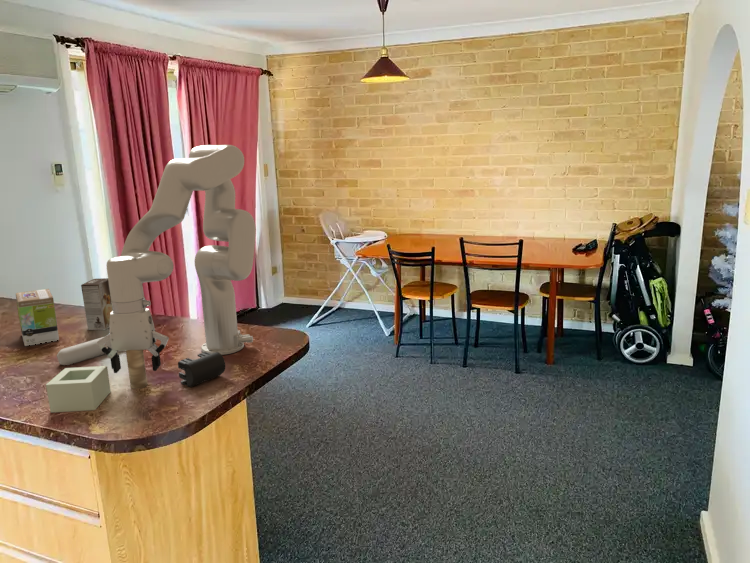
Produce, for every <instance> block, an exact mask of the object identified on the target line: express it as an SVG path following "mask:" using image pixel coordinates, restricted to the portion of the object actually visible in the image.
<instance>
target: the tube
mask: <svg viewBox="0 0 750 563" xmlns="http://www.w3.org/2000/svg"><path fill="white" fill-rule="evenodd" d="M104 337H105V336H102V337H99V338H95V339H91V340H88V341H84V342H81V343H78V344H74V345H72V346H67V347H64V348H60V350H59V351H58V353H57V355H56V358H57V362H58V364H59V365H61V366H65V365H67V366H70V364H71V365H73V363H74V364H77V363H80V362H83V361H87V360H90V359H93V358H97V357H100V356H102V355H106V354H105V353H104V352H102V349H101V348H100V347H99V346H98V344H97V341H99V340H100V339H102V338H104ZM106 345H107V346H108V347H110V348H111V344H110V340H109V341H107V342H106ZM111 349H112V348H111Z"/></svg>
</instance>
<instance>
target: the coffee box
mask: <svg viewBox="0 0 750 563" xmlns="http://www.w3.org/2000/svg"><path fill="white" fill-rule="evenodd" d="M80 287H81V294H82V299H83V300H82V301H83V306H84V312H85V313H84V314H85V320H86V324H87V330H88V331H96V330H97V331H98V330H99V331H100V330H101V331H102V330H103V331H105V330H107V329H108V328H109V325H110V313H111V312H112V311H113V310H112V303H111V296H110V288H109V281H108V277H106V278H93V279H91V280H88V281H86V282H83V283H82V284H81V285H80Z"/></svg>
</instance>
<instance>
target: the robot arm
mask: <svg viewBox="0 0 750 563" xmlns="http://www.w3.org/2000/svg"><path fill="white" fill-rule="evenodd" d="M244 166H245V155H244V153H243V152H242V150H241V149H240V148H239V147H237V146H235V145H233V144H204V145H197V146H194V147H193V148H192V149H191V150H190V151H189V154H188V157H181V158H173V159H171V160H170V161H168V163H167V164H166V165H165V166H164V170H163V172H162V176H161V178H160V181H159V185H158V188H157V190H156V193H155V195H154V199H153V201H152V203H151V204H152V205H151V207H150V209H148V211H147V212H146V213H145V214H144V215H143V216H142V217H141V218H140V219H139V220H138V222H136V223H135V225H134V226H133V227H132V228H131V230H130V231H129V233H128V235H127V237H126V239H125V242H124V244H123V247H122V250H121V254H120V256H114V257H111V258H109V259H108V260H107V262H106V271H107V274H106V275H107V278H108V281H109V288H110V296H111V303H112V310H113V311H112V312H111V313H110V325H109V334H107V335H106V336H105V335H104V336H103V337H104V338H102V337H101V338H102V339H100V340H99V341H97V344H98V346H99V347H100V348H101V349H102V352H104V353H105V354H104V355H106V356H107V358H108V359H110V360H109V361H110V366H111V369H112V370H113V373H114V374H117V373H118V372H119V371H120V370H121V369H122V366H121V358H120V355H119V352H126V351H128V350H143V351H146V350H147V351H148V352H150V353H151V355H152V356H151V358H150V359H151V365H152V371H153V372H156V371H158V369H159V368H160V367H161V365H162V363H161V354H160V353H162V351H163V350H164V349H165V348H166V347H167V344H168V341H169V338H170V337H169V336H167V335H164V334H162V333H160V332H157V331H156V329H155V324H154V321H153V317H152V313H151V311H150V308H148V307H149V306H151V305H152V303H151V302H152V301H151V300H148V299H146V297H145V294H144V287H143V284H144V283H153V282H154V283H155V282H161V281H163V280H167V279H168V278H169V277H170V276H171V275H172V273H173V271H174V261H173V259H172V258H171V256H169V255H168V254H166V253H164V252H161V251H156V250H155V251H153V250H150V248H151V246H152V245H153V243H154V241H155V240H156V239H157V238H158V237H159V236H160V235H161V234H162V233H164V232H166V231H168V230H170V229H172V228H174V227H176V226H177V225H179V224H181V223H182V222H183V221H184V219H185V216H186V213H187V210H188V207H189V204H190V201H191V198H192V195H193V192H194V191H198V192H199V191H200V192H202V191H204V192H205V194H204V210H203V218H202V219H203V222H202V229H203V234H204V236H205V237H206V238H207V239H209V240H211V241H217V242H228V246H225V245H217V244H215V245H214V244H212V245H211V244H210V245H205V246H203V247H201V248H199V249H198V250H197V252H196V253H195V256H194V267H195V271H196V275H197V279H198V282H199V286H200V287H199V288H200V294H201V303H202V314H203V327H204V335H205V336H204V337H205V343H203V344H202V345H201V346H200V350H201V353H203V352H208V353H211V354H212V353H215V352H219V353H220V354H221V355H222V356H223V355H229V354H230V355H231V354H235V353H236V352H237V353H238V352H239V351H241V350H242V349H243V348H244V347H245V343H247V344H248V343H253V342H254V337H253V335H250V334H241V330H239V329H238V320H237V318H238V317H237V309H236V308H237V307H236V306H237V305H236V294H235V293H236V292H235V289H234V285H233V283H232V281H234V282H235V281H236V282H239V281H244V280H245V279H247V278H248V277H249V276H250V274H251V273H252V270H253V263H254V258H255V257H254V256H255V246H256V234H257V233H256V232H257V228H256V227H257V226H256V222H255V218H254V216H253V215H252V214H251V213H250V212H249V211H247V210H246V209H241V208H236V189H235V186H234V184H233V181H232V179H233V178H235V177H237V176H238V175H239V174H240V173H241V172H242V170H243V169H244ZM109 340H110V344H111V348H112V349H111V348H110V347H108V346H107V345H106V342H107V341H109ZM157 340H158V341H160V345H157V344H156V343H157Z"/></svg>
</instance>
